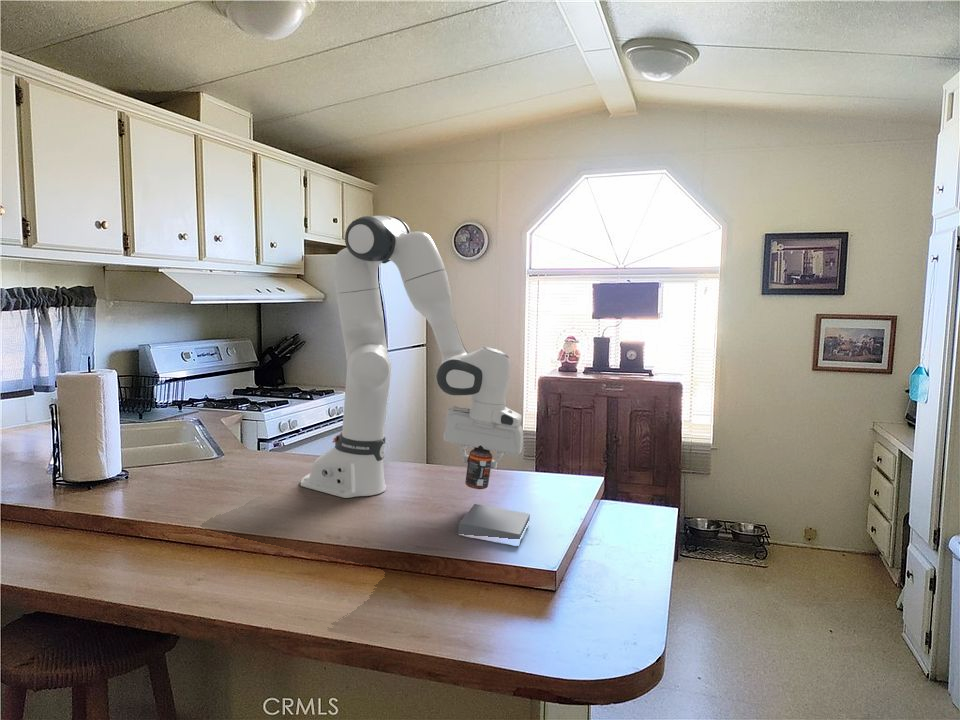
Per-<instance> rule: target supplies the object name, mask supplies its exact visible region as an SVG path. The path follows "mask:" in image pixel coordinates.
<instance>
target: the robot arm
mask: <svg viewBox="0 0 960 720" xmlns="http://www.w3.org/2000/svg"><path fill="white" fill-rule="evenodd" d="M344 242H345V246H346V247H345V248H343V249H340V250H339V251H338V252H337V253H336V256H335V257H334V264H333V266H334V268H333V269H334V272H333V273H334V274H333V275H334V276H333V277H334V287H335V294H336V302H337V307H338V315H339V320H340V327H341V332H342V339H343V343H344V350H345V357H346V374H345V375H346V376H345V377H346V378H345V390H344V403H343V416H342V420H343V421H342V427H341V428H342V429H341V431H342V432H340V433H339V434H337V435H336V436H335V437H334V438H332V443H333V444H335V445H334V447H332V448H331V449H329V450H328V451H326V452H325V453H323V454H322V455H320V456H318V457H317V458H316V459H315V460H314V461H313V463H312V465H311V468H310V472H309V473H308V474H307V475H304V476H303V477H302V478H301V480H300V486H301V487H303V488H307V489H311V490H314V491H318V492H322V493H325V494H329V495H332V496H336V497H340V498H345V499H349V498H354V497H355V498H356V497H368V496H369V497H370V496H375V495H379V494H381V493H383V492H385V491H386V490H387V484H386V481H385V472H384V458H385V453H386V436H385V430H386V415H387V406H388V402H389V401H388V399H389V392H390V386H391V385H390V384H391V377H392V362H391V359H390V356H389V353H388V345H387V340H386V339H387V338H386V329H385V321H384V311H383V305H382V297H381V291H380V284H379V278H378V270H379V266H380V265H381V264H387V263H389V262H392V263H394V265H395V266H396V268H397V269H398V272H399V274H400V278H401V281H402V284H403V286H404V290H405V292H406V294H407V296H408V299H409V301H410V303H411V305H412V307H413V308H414V309H415V310H416V311H417V312H419V313H420V314H421V315H422V316H423V317H424V318H425V319H426V320H427V322H428V324H429V325H430V327H431V329H432V332H433V334H434V338H435V340H436V343H437V346H438V349H439V352H440V355H441V365H439V366H438V369H437V372H436V382H437V385H438V387H439V388H440V389H441V390H442V392H444V393H445V394H447V395H449V396H454V397H455V396H456V397H458V396H459V397H460V396H471V398H470V406H469V408H468V407H459V406H455V405H454V406H451V407H450V408H448V409H447V410H446V415H445V420H446V424H445V428H444V431H443V440H444V442H446V443H452V444H456V445H459V450H460V453H461V456H462V460H461V462H462V463H465V464H468V460H469V454H467V451H466V449H467V448H468V447H472V448H474V447H475V448H478V447H479V446H480V445H481V446H482V447H483V449H486V450H490V452H491V451H492V452H496V454H495V455H496V457H497V458H496V459H492V461H491V465H490V468H491V469H494V470H496V469H497V467H498V462H499V461H500V459H501V458H502V457H503V456H504V454H505V455H506V454H507V455H513V456H518V455H519V454H521V453H522V451H523V447H524V445H523V444H524V430H523V427H522V425H521V422H522V414H520V413H518V412H516V411H514V410H512V409H511V408H509V407H507V406H506V405H507V400H506V399H507V397H506V395H507V391H508V388H509V384H510V377H511V376H510V375H511V360H510V358H509V356H508V355H507V354H506V352H504V351H502V350H499V349H497V348H494V347H489V346H482V347H481V348H479V349H477V350H475V351H472V352H469V351H467V350H466V348H465V346H464V344H463V341H462V338H461V334H460V332H459V329H458V326H457V323H456V321H455V317H454V312H453V301H452V291H451V286H450V285H451V284H450V282H449V281H450V280H449V277H448V273H447V270H446V267H445V264H444V261H443V259H442V258H443V257H441V254H440V251H439V250H438V247H437V246H436V244H435V242H434V240H433V239H432V237H431V235H430V234H428V232H427V233H426V232H423V231H418V230H417V231H412V230H411V229H410V227H409V226H408V224H407V223H406V222H405V221H404V220H402V219H401V218H398V217H396V216H389V215H384V214H383V215H382V214H377V215H372V216H370V215H369V216H368V215H367V216H366V215H365V216H361V217H358V218H356V219H355V220H353V221H351V223H350V224H349V225H348V226H347V228H346V230H345V234H344Z"/></svg>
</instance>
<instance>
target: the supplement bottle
mask: <svg viewBox="0 0 960 720" xmlns="http://www.w3.org/2000/svg"><path fill="white" fill-rule="evenodd" d="M468 455H469V460H468V463H467V468H466V474H465V475H466V476H465V486H467V487H468V488H470V489H474V490H475V489H476V490H485V489H487V488H488V486H489V483H490V482H489V481H490V476H491V469H492V468H490V465H491V461H492V460H493V452H491V450H486V449H483V447H482V446H481V445H480V446H479V447H478V448H475V447H473V449H471V450H470V451H469V453H468Z"/></svg>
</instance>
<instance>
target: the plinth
mask: <svg viewBox="0 0 960 720" xmlns="http://www.w3.org/2000/svg"><path fill="white" fill-rule="evenodd" d="M530 515H531V513H529V512H527V513H526V512H521V511H515V510H511V509H505V508H499V507H493V506H488V505H483V504H477V503H474V504H473V505H472V506H471V508H470V509H469V510H468V512H467V513H466V514H465V515H464V517H463V518H462V519H461V520H460V522H459V524H458V525H459V526H458V534H464V535H474V536H488V537H499V538H508V539H520V537H521V535H522V533H523V531H524V529H525V527H526V525H527V523H528V521H529V522H530V518H531V516H530ZM458 534H457V535H458Z"/></svg>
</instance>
